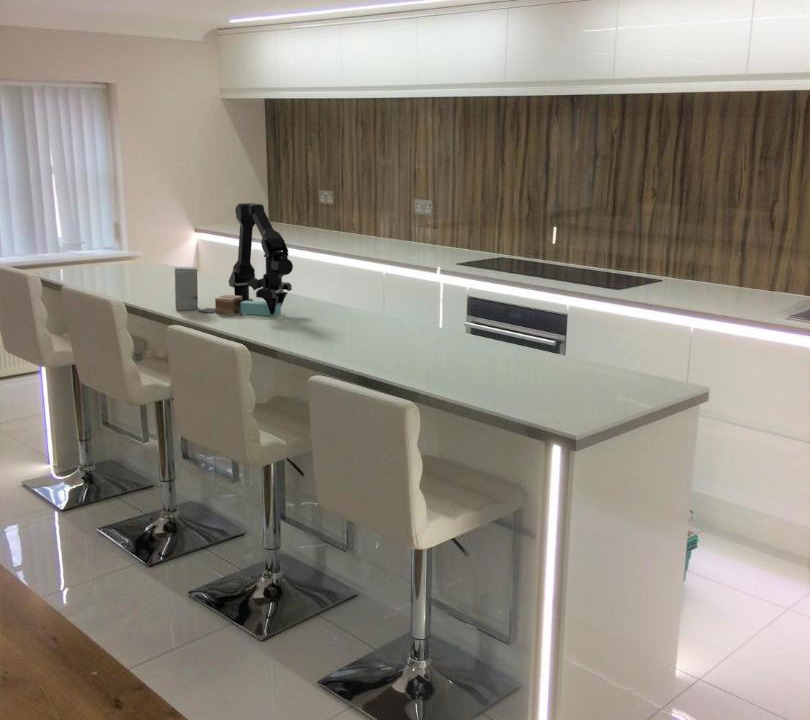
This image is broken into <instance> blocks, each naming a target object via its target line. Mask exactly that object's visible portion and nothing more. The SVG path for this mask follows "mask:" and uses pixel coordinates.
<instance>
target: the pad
mask: <svg viewBox="0 0 810 720" xmlns="http://www.w3.org/2000/svg"><path fill="white" fill-rule="evenodd" d="M284 315H285V313H281V314H279V315H277V316H269V315H255V314H243V315H242V316H243V317H251V318H252V317H253V318H262V319H263V318H264V319H278V318H280V317H282V316H284Z"/></svg>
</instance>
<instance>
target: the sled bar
mask: <svg viewBox="0 0 810 720" xmlns="http://www.w3.org/2000/svg"><path fill="white" fill-rule="evenodd" d="M281 310H282V306H281V303H277V304H276V308H275V311H274V314H273V315H271V314H270V311H269V308H268V305H267V303H266V301H255V300H254V301H253V300H252V301H244V302H241V312H240V314H243V315H245V314H255V315H269V316H277V315H279V314H282V311H281Z"/></svg>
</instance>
